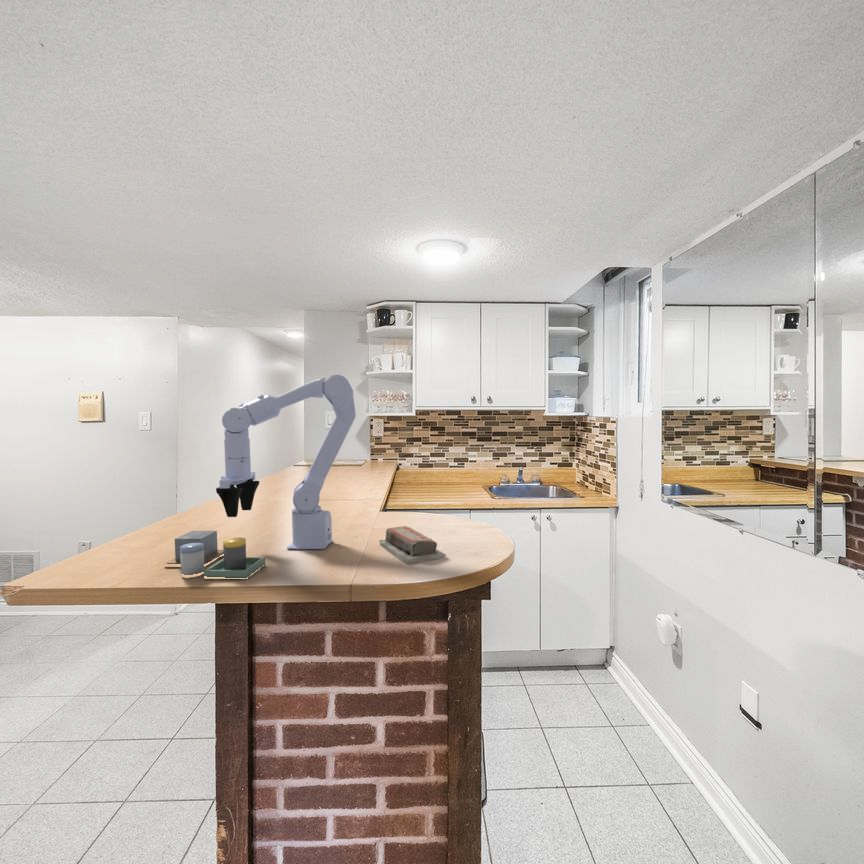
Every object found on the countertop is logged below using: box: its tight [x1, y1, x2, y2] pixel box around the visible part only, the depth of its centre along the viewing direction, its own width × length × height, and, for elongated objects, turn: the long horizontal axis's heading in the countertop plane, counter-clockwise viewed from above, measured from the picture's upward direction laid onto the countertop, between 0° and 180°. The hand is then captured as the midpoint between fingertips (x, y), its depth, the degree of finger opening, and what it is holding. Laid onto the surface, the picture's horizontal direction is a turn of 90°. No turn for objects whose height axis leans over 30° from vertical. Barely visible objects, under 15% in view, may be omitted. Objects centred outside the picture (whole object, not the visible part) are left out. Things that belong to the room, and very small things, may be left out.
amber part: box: [222, 537, 247, 570], centre depth 98 cm, size 4×4×6 cm
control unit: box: [165, 530, 223, 564], centre depth 107 cm, size 9×10×6 cm
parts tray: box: [203, 556, 266, 578], centre depth 98 cm, size 9×9×2 cm
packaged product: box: [379, 525, 447, 565], centre depth 112 cm, size 18×5×10 cm
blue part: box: [180, 543, 206, 575], centre depth 97 cm, size 4×4×6 cm
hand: (239, 513), depth 113 cm, fingers open, 7 cm apart
